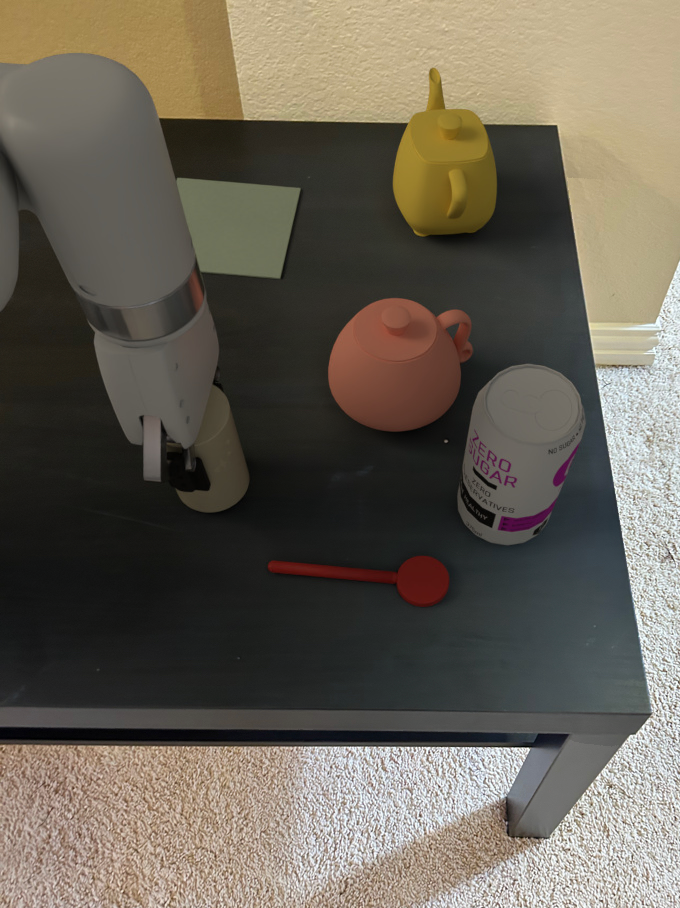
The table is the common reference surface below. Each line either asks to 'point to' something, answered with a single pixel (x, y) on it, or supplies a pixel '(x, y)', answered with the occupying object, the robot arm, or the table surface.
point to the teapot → (445, 169)
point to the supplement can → (518, 452)
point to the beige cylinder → (217, 458)
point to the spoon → (385, 577)
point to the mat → (239, 225)
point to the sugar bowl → (398, 364)
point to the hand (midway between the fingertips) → (200, 448)
